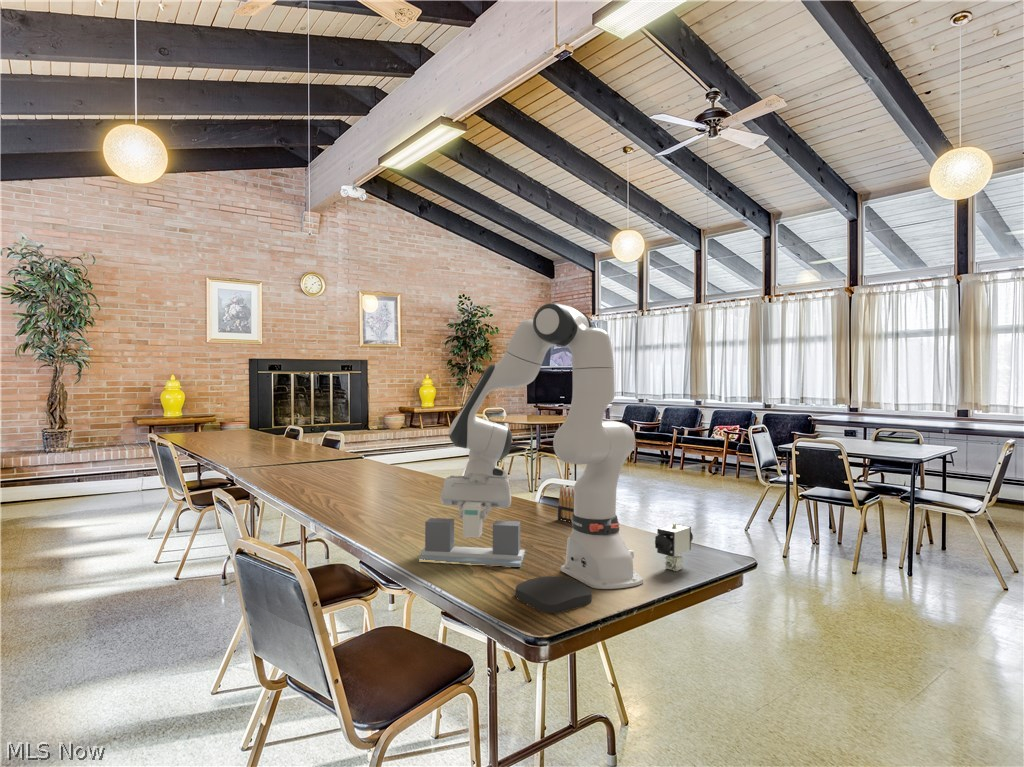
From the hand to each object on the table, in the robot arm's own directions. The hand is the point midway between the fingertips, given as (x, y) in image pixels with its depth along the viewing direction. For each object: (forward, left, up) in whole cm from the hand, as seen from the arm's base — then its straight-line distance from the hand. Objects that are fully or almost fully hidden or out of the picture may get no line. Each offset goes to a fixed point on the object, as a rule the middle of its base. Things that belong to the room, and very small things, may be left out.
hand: (472, 518), depth 154 cm
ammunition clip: (+31, -43, -12) cm, 55 cm away
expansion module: (+1, 0, -5) cm, 5 cm away
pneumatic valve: (-23, -49, -12) cm, 55 cm away
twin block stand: (0, 0, -11) cm, 11 cm away
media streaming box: (-33, -11, -12) cm, 37 cm away
